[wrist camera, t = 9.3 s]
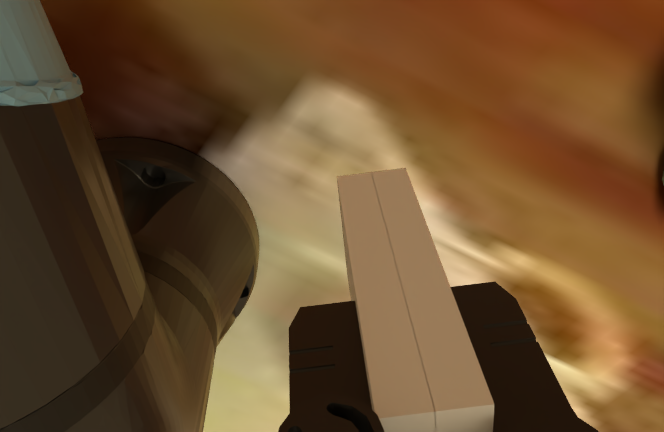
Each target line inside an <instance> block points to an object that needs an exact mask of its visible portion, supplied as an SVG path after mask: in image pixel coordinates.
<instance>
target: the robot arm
mask: <svg viewBox="0 0 664 432" xmlns="http://www.w3.org/2000/svg"><path fill="white" fill-rule="evenodd" d="M82 93H83V89H82V85H81V82H80V79H79V76H78V75H76V74H75V73H73V72H72V71H70V69H69V67H68V64H67V62H66V60H65V57H64V55H63V53H62V50H61V48H60V46H59V44H58V41H57V39H56V37H55V34H54V32H53V30H52V27H51V25H50V23H49V20H48V18H47V16H46V14H45V11H44V9H43V7H42V4H41V2H40V0H0V432H203V427H204V421H205V414H206V408H207V402H208V396H209V390H210V384H211V378H212V371H213V365H214V358H215V352H216V347H217V346H218V344H219V343H220V341H221V340H222V338H223V337H224V335H225V334H226V333H227V331H228V330H229V328H230V327H231V325H232V324H233V322H234V321H235V319H236V317H237V316H238V315H239V314H240V312H241V311H242V309H243V308H244V306H245V305H246V303H247V301H248V299H249V297H250V295H251V292H252V290H253V287H254V284H255V280H256V275H257V267H258V258H259V236H258V230H257V225H256V222H255V219H254V216H253V214H252V212H251V209H250V207H249V206H248V204H247V202H246V200H245V199H244V197H243V196H242V194H241V193H240V191H239V190H238V189H237V188H236V187H235V185H234V184H233V183H232V182H231V181H230V180H229V179H228V178H227V177H226V176H225V175H224V174H223V173H222V172H220V171H219V170H218V169H217V168H215V167H214V166H213V165H211V164H210V163H208V162H207V161H205V160H204V159H202V158H200V157H199V156H197V155H195V154H193V153H191V152H189V151H187V150H184V149H182V148H179V147H177V146H174V145H171V144H167V143H164V142H160V141H155V140H150V139H143V138H132V137H120V138H108V139H101V140H95V137H94V134H93V132H92V129H91V126H90V123H89V120H88V117H87V114H86V112H85V109H84V106H83V103H82V100H81V97H80V95H81V94H82ZM337 182H338V192H339V201H340V210H341V219H342V228H343V237H344V247H345V256H346V265H347V274H348V281H349V288H350V295H351V301H348V302H340V303H332V304H324V305H315V306H307V307H300V309H299V310H298V312H297V314H296V316H295V318H294V320H293V322H292V323H291V325H290V327H289V353H290V355H289V370H290V374H289V378H290V414H289V415H288V417H287V418H286V419H285V421H284V422H283V423H282V425H281V426H280V428H279V432H598V430H596V429H595V428H593V427H592V426H590V425H589V424H587V423H586V422H584V421H583V420H581V419H580V418H578V417H577V415H576V414H575V412H574V411H573V409H572V408H571V406H570V404H569V402H568V400H567V398H566V396H565V394H564V392H563V390H562V388H561V386H560V384H559V382H558V380H557V378H556V377H555V375H554V373H553V371H552V369H551V367H550V365H549V363H548V361H547V359H546V357H545V355H544V353H543V351H542V349H541V347H540V345H539V343H538V342H536V337H535V335H534V333H533V331H532V330H531V328H530V326H529V324H527V320H526V318H525V316H524V314H523V312H522V310H521V308H520V306H519V304H518V302H517V300H516V298H514V297H513V296H512V295H511V294H509V293H508V292H507V291H506V290H505V289H503V288H502V287H501V286H500V285H498V284H497V283H496V282H488V283H480V284H472V285H464V286H456V287H450V285H449V282H448V280H447V277H446V274H445V272H444V269H443V266H442V264H441V261H440V258H439V256H438V253H437V250H436V248H435V245H434V242H433V240H432V237H431V234H430V232H429V229H428V226H427V224H426V221H425V218H424V216H423V213H422V210H421V208H420V205H419V203H418V200H417V197H416V195H415V192H414V189H413V187H412V184H411V181H410V179H409V176H408V173H407V171H406V168H401V169H393V170H385V171H377V172H368V173H360V174H352V175H344V176H337Z"/></svg>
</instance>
